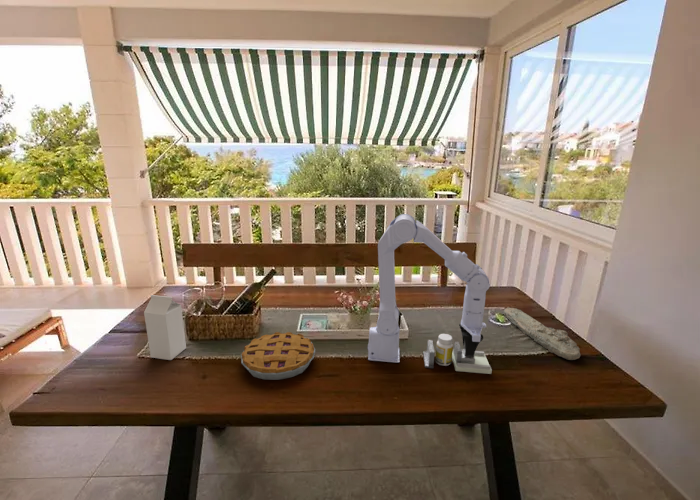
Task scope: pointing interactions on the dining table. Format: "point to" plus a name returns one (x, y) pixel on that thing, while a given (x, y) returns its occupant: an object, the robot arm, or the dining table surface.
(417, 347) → the dining table surface
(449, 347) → the supplement bottle
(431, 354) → the jaw
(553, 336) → the long grey stone
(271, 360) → the pie
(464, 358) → the grey boxy piece
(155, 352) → the milk carton
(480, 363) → the bed
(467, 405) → the dining table surface
